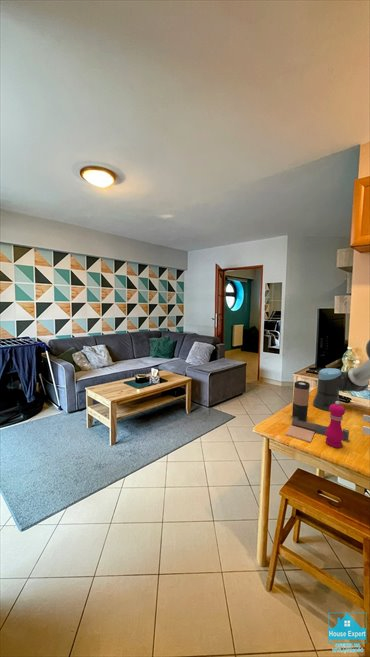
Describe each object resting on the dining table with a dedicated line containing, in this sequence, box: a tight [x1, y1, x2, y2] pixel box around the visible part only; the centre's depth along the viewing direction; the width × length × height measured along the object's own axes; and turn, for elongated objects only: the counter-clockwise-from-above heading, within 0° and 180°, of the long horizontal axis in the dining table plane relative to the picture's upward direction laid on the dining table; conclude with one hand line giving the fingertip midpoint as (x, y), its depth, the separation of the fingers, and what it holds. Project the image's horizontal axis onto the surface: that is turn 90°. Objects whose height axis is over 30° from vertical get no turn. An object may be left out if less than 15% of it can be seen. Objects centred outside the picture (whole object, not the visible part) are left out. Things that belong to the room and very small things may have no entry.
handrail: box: [291, 416, 350, 443], centre depth 125 cm, size 24×2×4 cm, turn 55°
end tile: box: [285, 424, 316, 444], centre depth 123 cm, size 11×11×1 cm
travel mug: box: [291, 380, 311, 421], centre depth 139 cm, size 8×8×20 cm
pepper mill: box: [324, 401, 346, 449], centre depth 114 cm, size 7×7×20 cm
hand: (362, 423), depth 108 cm, fingers open, 13 cm apart
